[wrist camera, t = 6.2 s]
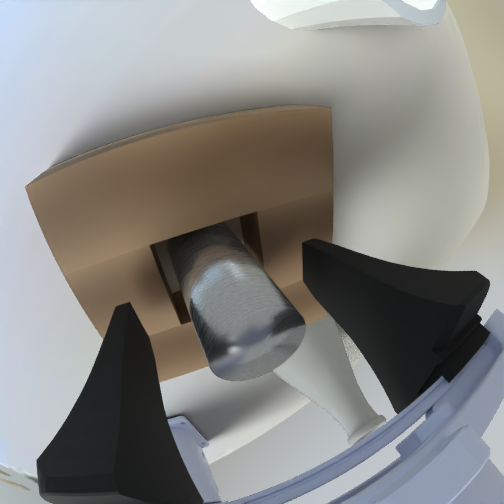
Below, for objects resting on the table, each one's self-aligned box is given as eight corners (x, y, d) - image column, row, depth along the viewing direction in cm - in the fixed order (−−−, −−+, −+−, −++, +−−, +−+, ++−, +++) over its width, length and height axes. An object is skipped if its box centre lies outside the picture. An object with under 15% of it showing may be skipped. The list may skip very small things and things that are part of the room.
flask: (257, 336, 20) (330, 450, 12) (338, 298, 21) (422, 384, 13) (268, 381, 24) (321, 468, 16) (333, 349, 25) (393, 421, 17)
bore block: (302, 289, 19) (327, 316, 16) (135, 350, 16) (140, 387, 13) (293, 104, 12) (330, 107, 10) (48, 168, 9) (25, 186, 7)
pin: (231, 261, 15) (300, 360, 9) (173, 276, 14) (215, 391, 8) (228, 206, 13) (312, 294, 8) (162, 219, 12) (201, 329, 7)
